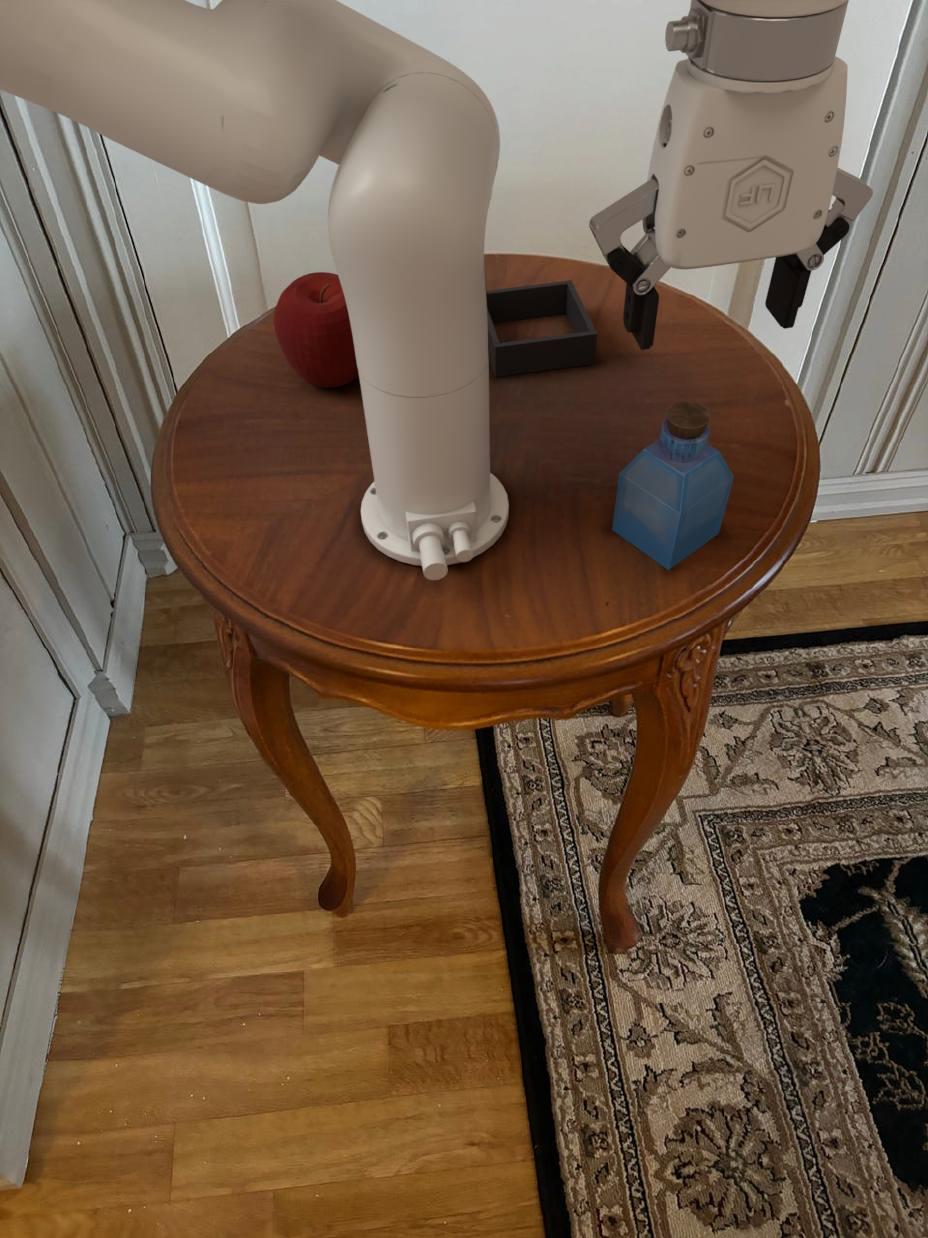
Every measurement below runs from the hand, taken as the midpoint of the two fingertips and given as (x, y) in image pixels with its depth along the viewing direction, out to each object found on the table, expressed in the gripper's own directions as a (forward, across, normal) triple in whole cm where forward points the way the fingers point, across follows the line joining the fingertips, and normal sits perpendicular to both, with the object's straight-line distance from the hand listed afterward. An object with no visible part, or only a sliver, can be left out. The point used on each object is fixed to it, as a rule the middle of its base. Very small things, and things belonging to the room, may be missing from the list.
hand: (709, 327), depth 59 cm
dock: (+19, -5, +29) cm, 35 cm away
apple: (+19, -26, +28) cm, 43 cm away
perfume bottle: (+19, -1, 0) cm, 19 cm away
